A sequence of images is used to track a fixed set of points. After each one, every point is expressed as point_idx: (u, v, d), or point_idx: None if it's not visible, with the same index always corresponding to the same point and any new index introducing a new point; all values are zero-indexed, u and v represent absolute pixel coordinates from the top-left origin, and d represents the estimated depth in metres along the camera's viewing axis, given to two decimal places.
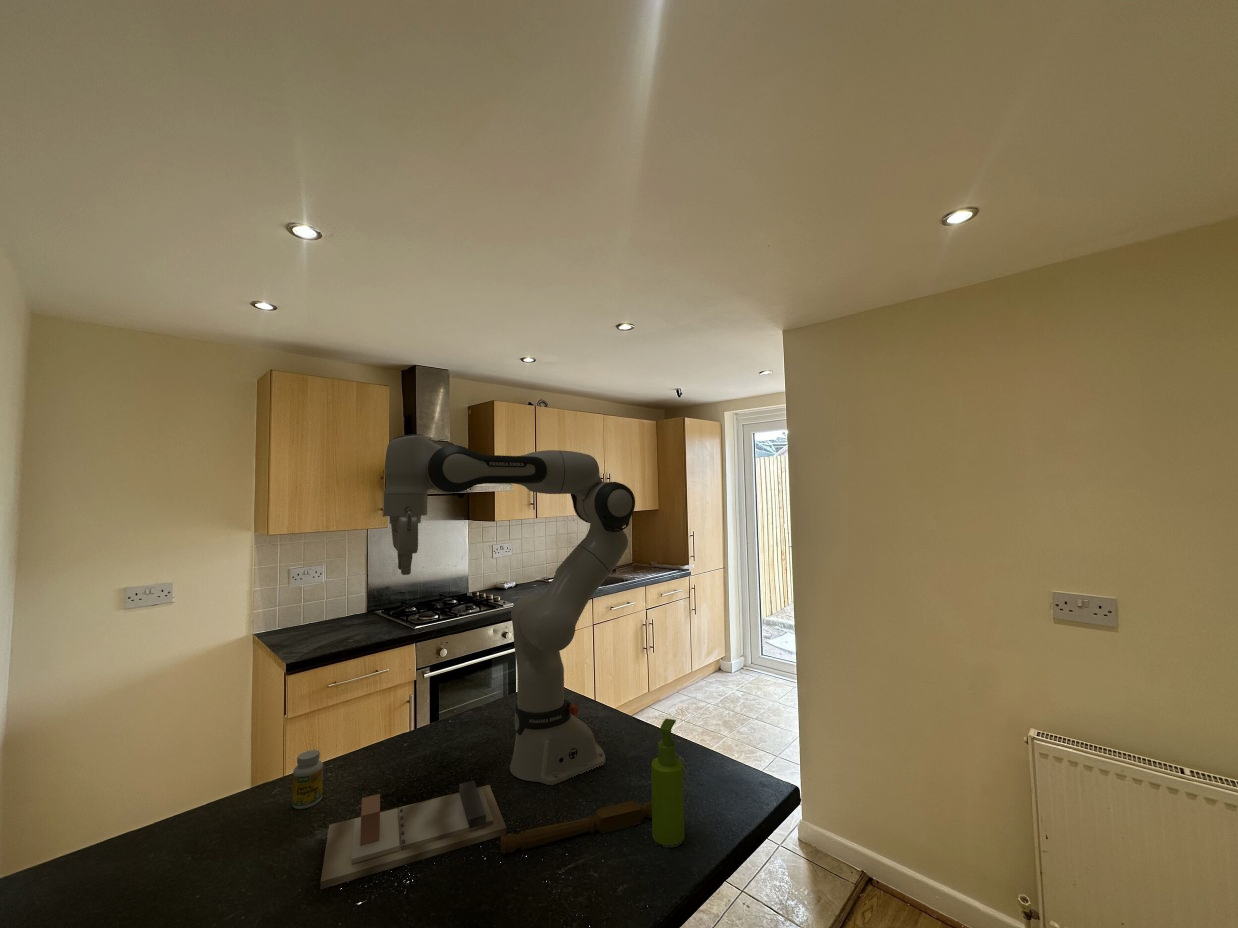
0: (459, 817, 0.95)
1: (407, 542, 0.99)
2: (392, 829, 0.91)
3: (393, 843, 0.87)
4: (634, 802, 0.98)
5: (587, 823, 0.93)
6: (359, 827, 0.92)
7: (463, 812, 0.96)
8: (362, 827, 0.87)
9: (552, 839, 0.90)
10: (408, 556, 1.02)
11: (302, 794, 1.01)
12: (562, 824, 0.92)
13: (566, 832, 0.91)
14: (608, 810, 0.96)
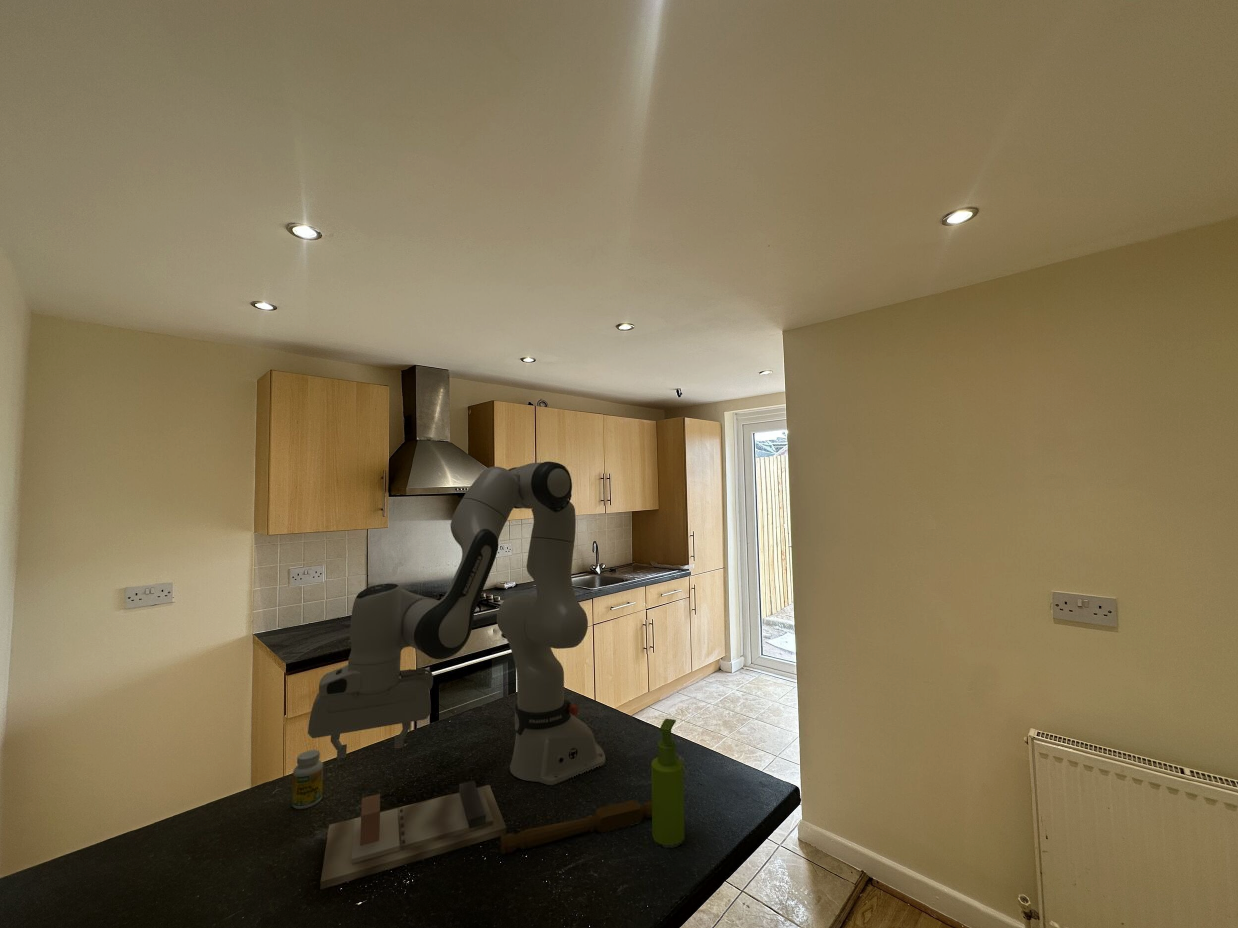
0: (459, 817, 0.95)
1: None
2: (392, 829, 0.91)
3: (393, 843, 0.87)
4: (634, 801, 0.98)
5: (587, 823, 0.93)
6: (359, 827, 0.92)
7: (463, 812, 0.96)
8: (362, 827, 0.87)
9: (552, 839, 0.90)
10: None
11: (302, 794, 1.01)
12: (562, 824, 0.92)
13: (566, 831, 0.91)
14: (608, 810, 0.96)
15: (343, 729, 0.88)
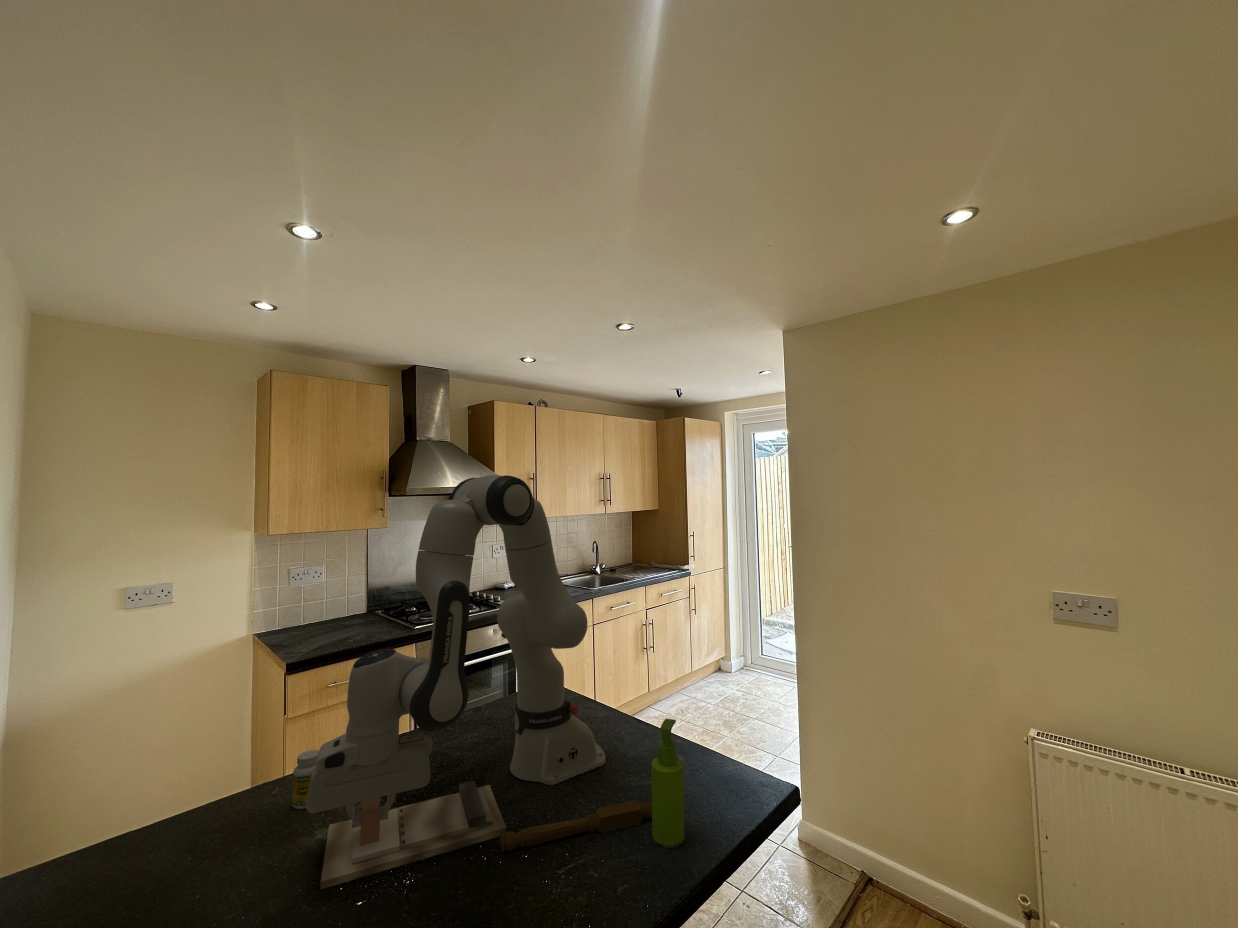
0: (459, 817, 0.95)
1: None
2: (393, 829, 0.91)
3: (393, 843, 0.87)
4: (634, 802, 0.98)
5: (587, 822, 0.93)
6: (359, 827, 0.92)
7: (463, 812, 0.96)
8: (362, 827, 0.87)
9: (551, 838, 0.91)
10: None
11: (302, 794, 1.01)
12: (562, 823, 0.92)
13: (566, 831, 0.92)
14: (608, 810, 0.96)
15: (342, 802, 0.87)
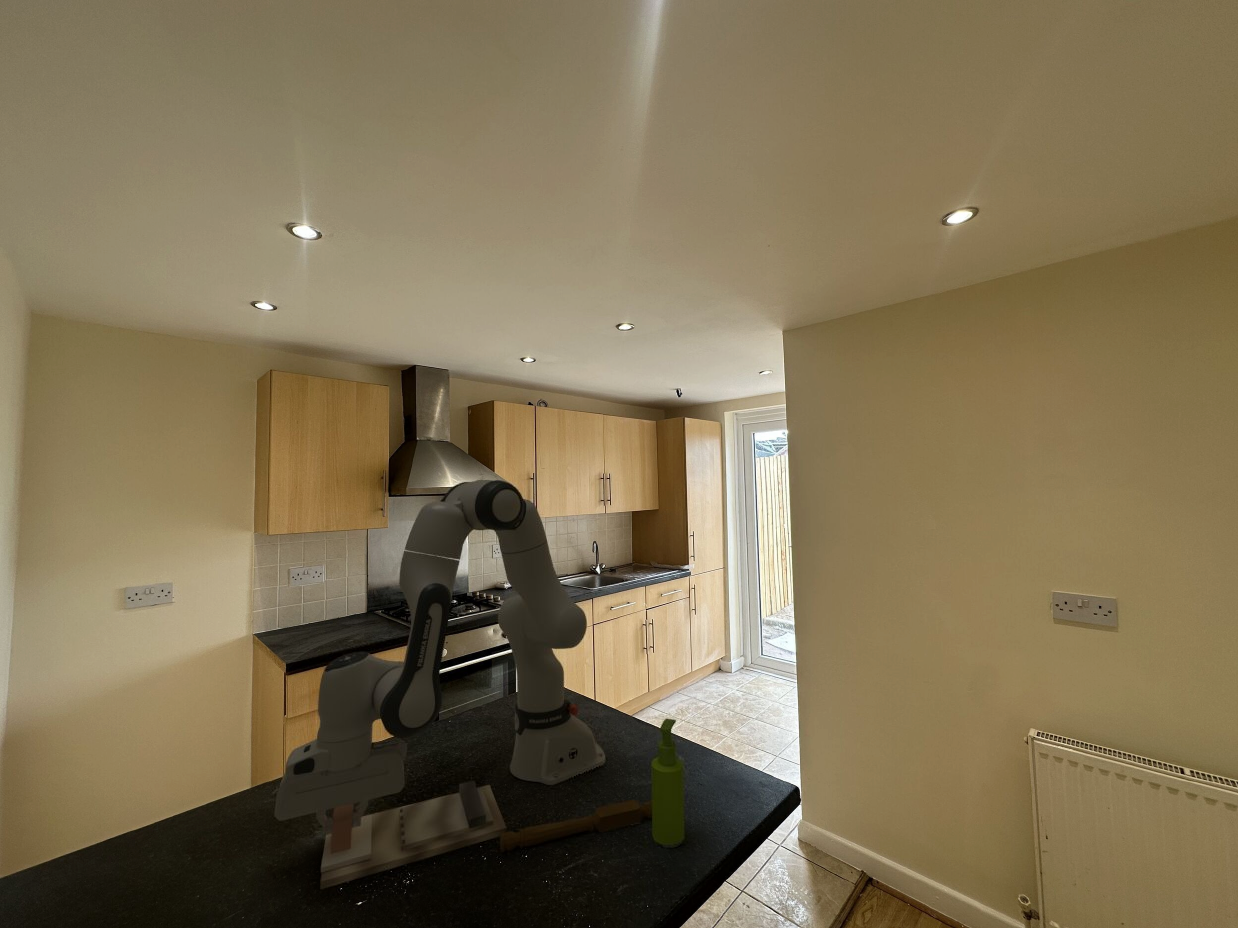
0: (459, 817, 0.95)
1: None
2: (365, 836, 0.89)
3: (364, 851, 0.85)
4: (633, 801, 0.98)
5: (586, 822, 0.93)
6: (331, 834, 0.90)
7: (463, 812, 0.96)
8: (333, 835, 0.85)
9: (551, 838, 0.91)
10: None
11: None
12: (561, 823, 0.93)
13: (565, 830, 0.92)
14: (607, 809, 0.96)
15: (312, 809, 0.85)
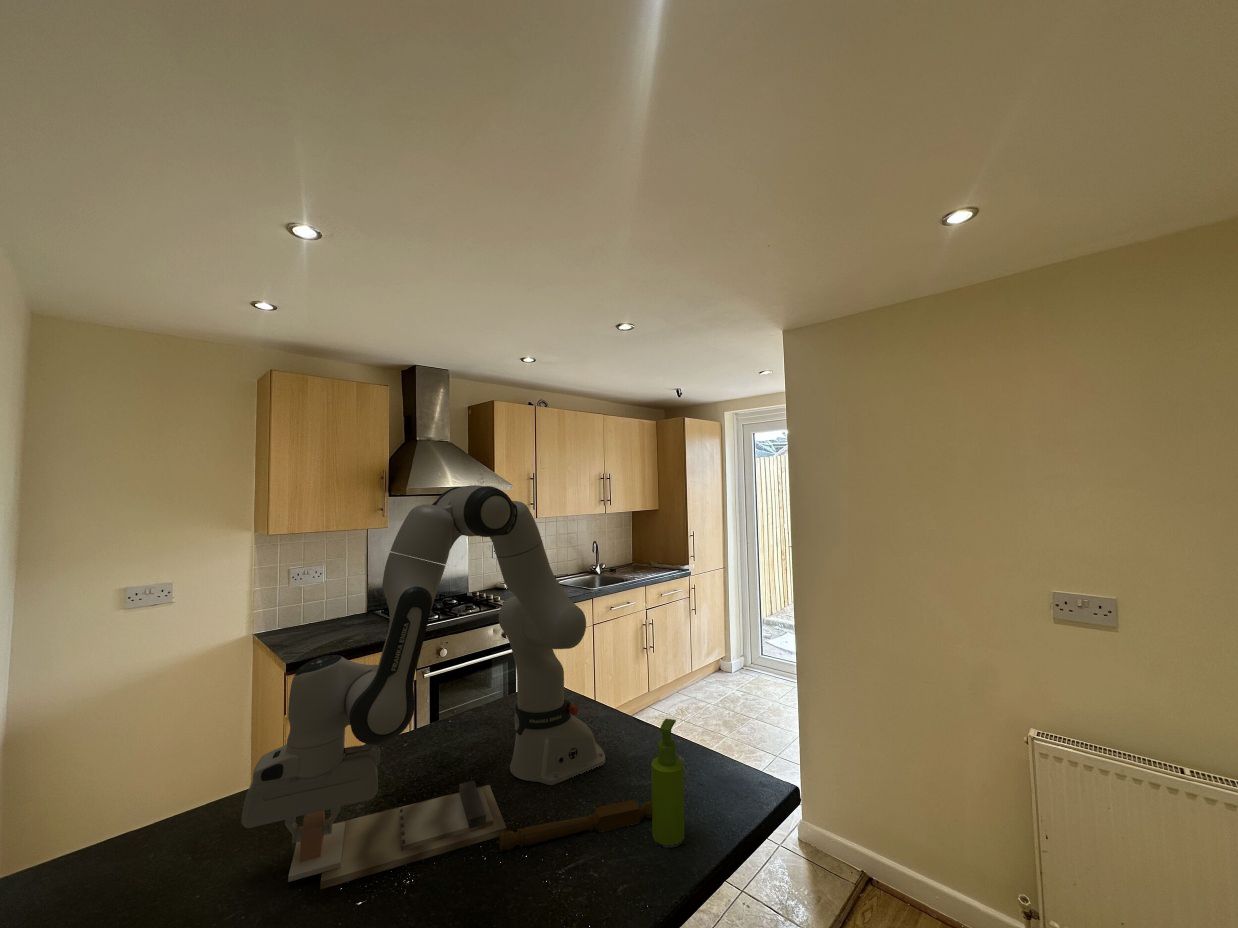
0: (459, 817, 0.95)
1: (377, 780, 0.91)
2: (336, 844, 0.87)
3: (334, 860, 0.83)
4: (633, 801, 0.98)
5: (585, 822, 0.93)
6: None
7: (463, 812, 0.96)
8: (302, 843, 0.83)
9: (550, 837, 0.91)
10: None
11: None
12: (560, 822, 0.93)
13: (565, 830, 0.92)
14: (607, 809, 0.96)
15: (280, 816, 0.83)
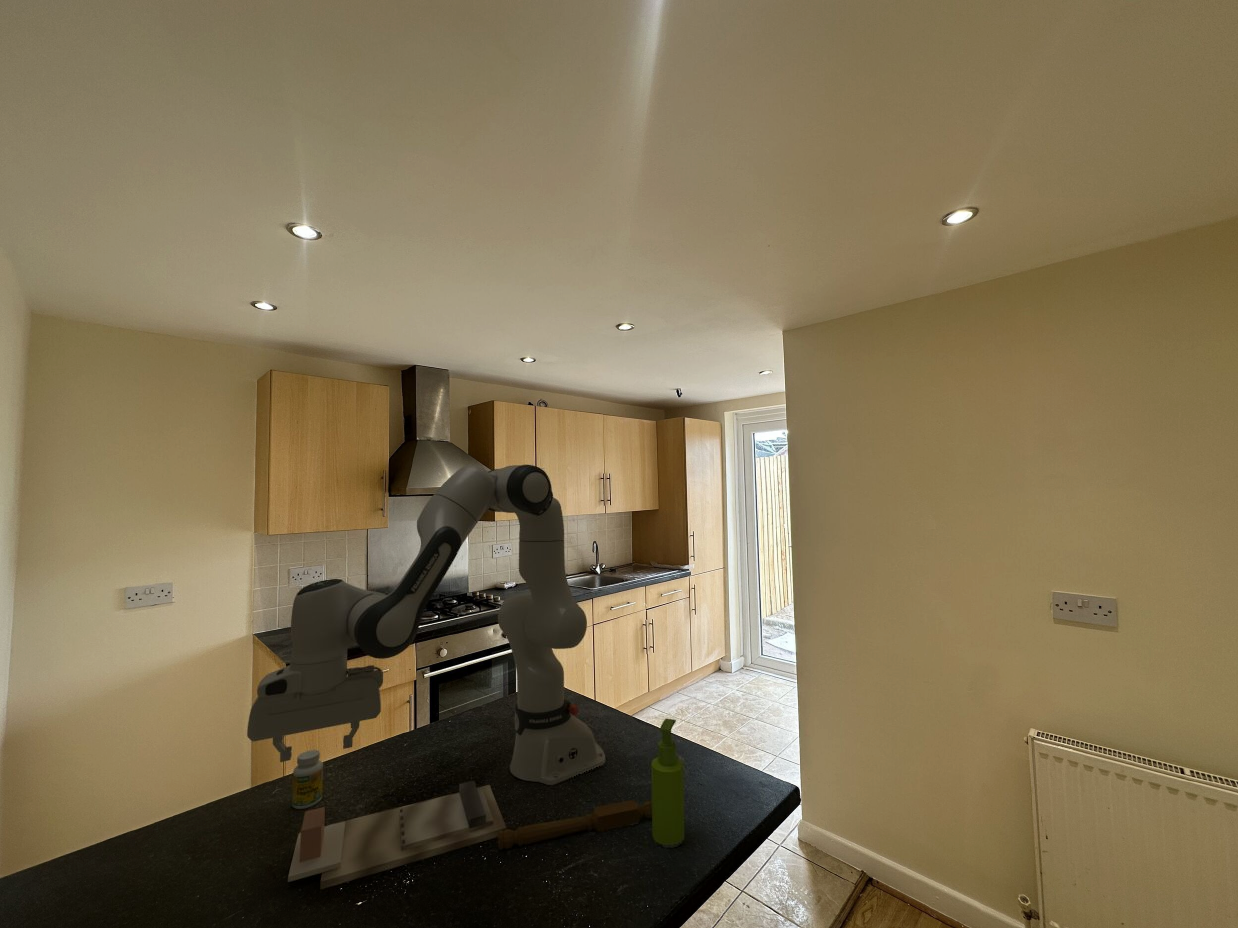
0: (459, 817, 0.95)
1: (380, 701, 0.93)
2: (336, 844, 0.87)
3: (334, 860, 0.83)
4: (632, 801, 0.98)
5: (584, 821, 0.94)
6: None
7: (463, 812, 0.96)
8: (302, 843, 0.83)
9: (549, 836, 0.91)
10: (359, 721, 0.91)
11: (302, 794, 1.01)
12: (559, 821, 0.93)
13: (563, 829, 0.92)
14: (606, 809, 0.96)
15: (285, 731, 0.85)
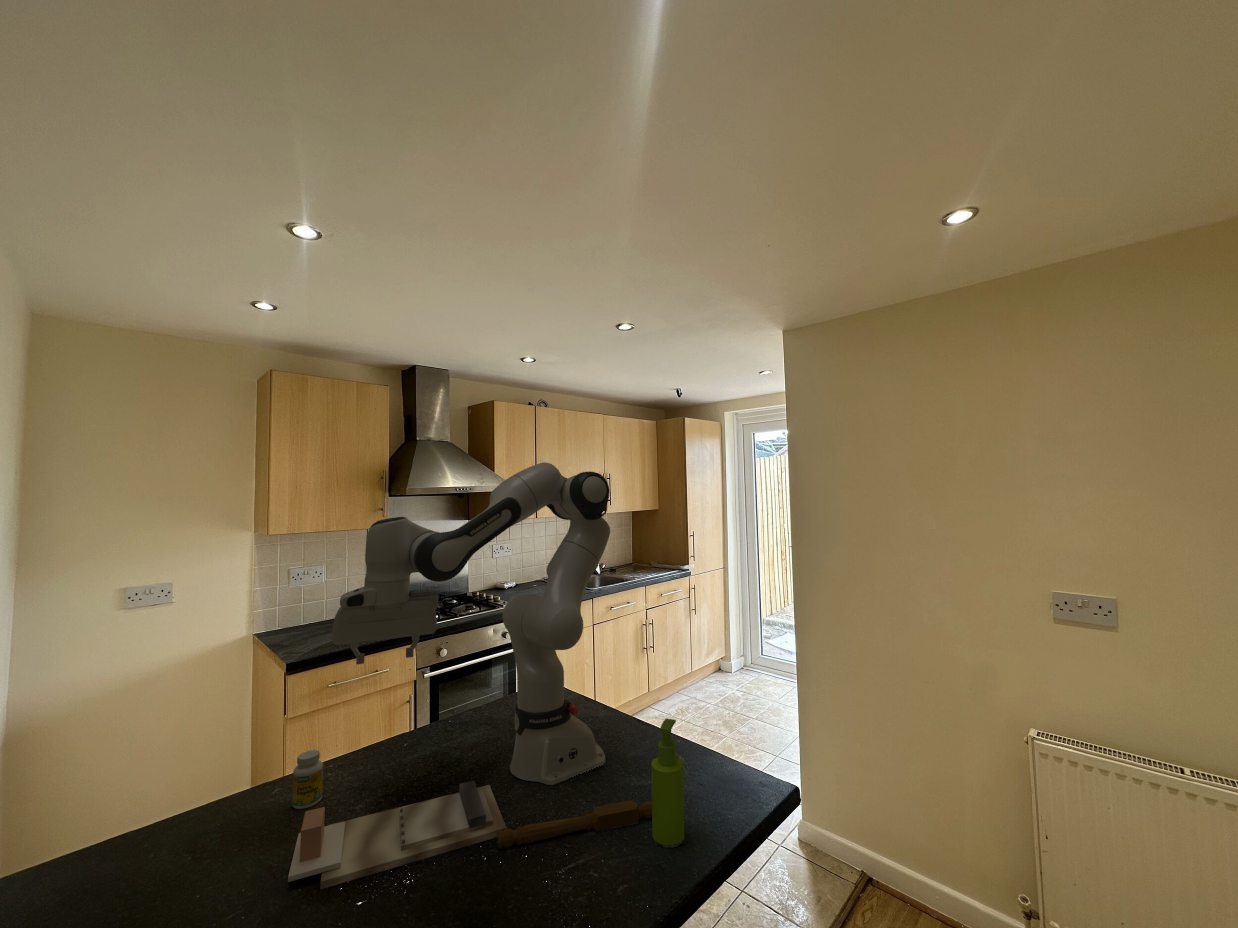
0: (459, 817, 0.95)
1: None
2: (336, 844, 0.87)
3: (334, 860, 0.83)
4: (632, 801, 0.98)
5: (583, 821, 0.94)
6: None
7: (463, 812, 0.96)
8: (302, 843, 0.83)
9: (548, 836, 0.91)
10: None
11: (302, 794, 1.01)
12: (559, 821, 0.93)
13: (563, 829, 0.92)
14: (605, 808, 0.96)
15: (361, 638, 1.02)
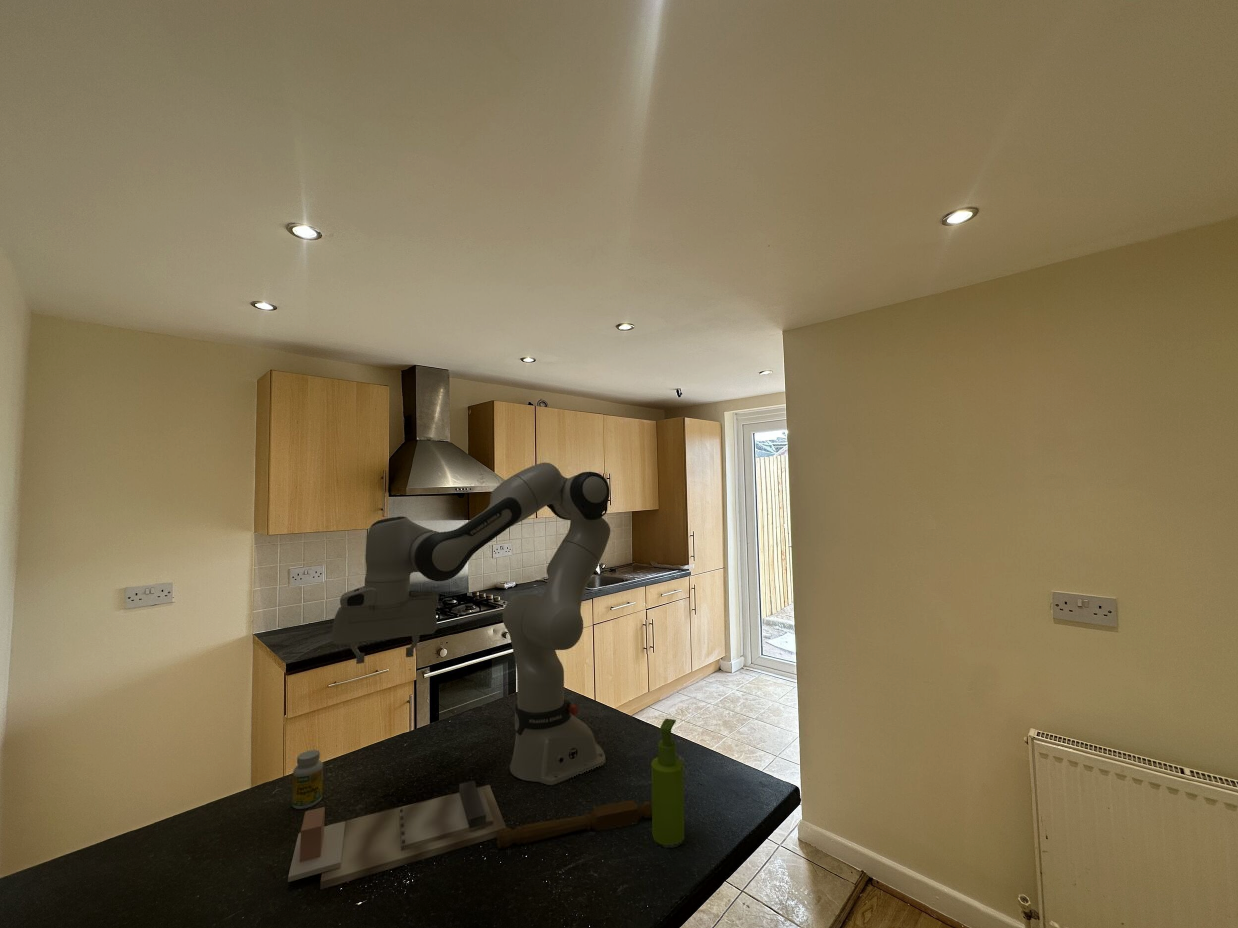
0: (459, 817, 0.95)
1: None
2: (336, 844, 0.87)
3: (334, 860, 0.83)
4: (631, 801, 0.98)
5: (583, 821, 0.94)
6: None
7: (463, 812, 0.96)
8: (302, 843, 0.83)
9: (548, 835, 0.91)
10: None
11: (302, 794, 1.01)
12: (558, 821, 0.93)
13: (562, 828, 0.92)
14: (605, 808, 0.96)
15: (361, 638, 1.02)
